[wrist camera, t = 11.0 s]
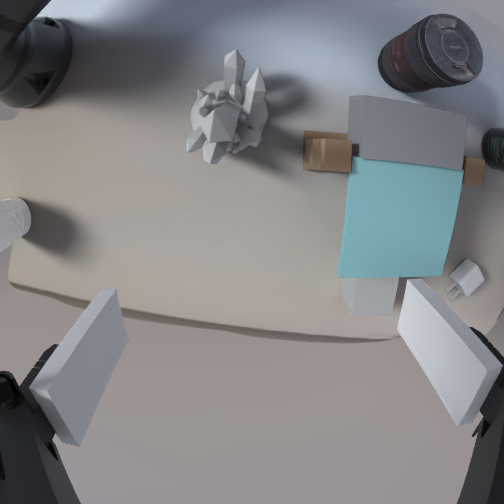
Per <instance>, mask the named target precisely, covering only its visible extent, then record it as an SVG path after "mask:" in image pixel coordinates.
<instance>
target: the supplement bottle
mask: <svg viewBox="0 0 504 504" xmlns="http://www.w3.org/2000/svg"><path fill="white" fill-rule="evenodd" d="M482 154H483V157H484V159H485V161H486V163H487V164H488V165H489V166H490V167H491V168H493V169H497V170H500V171H504V129H503V128H492V129H489V130H488V131H487V132H486V133H485V135H484V137H483V140H482Z"/></svg>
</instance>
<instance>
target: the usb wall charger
mask: <svg viewBox="0 0 504 504" xmlns="http://www.w3.org/2000/svg"><path fill="white" fill-rule="evenodd" d="M449 277H450V278H451V280H452V282H453V284H452V285H451V286H449V287H448V288H447V289H446V290H445V292H444V293H445V294H447V293H448V292H449V291H450V290H451V289H453V288H454V287H456V289H457V290H458V291H457V292H456V293H455V294H453V295H452V296H451V297H450V299H451V298H452V300H453V299H454V298H455V297H456V296H458V295H459V294H460V293H461V294H462V295H464V296H465V297H466V298H468V297H469V296H470V295H471V294H472V293H473V292H474V291H475V290H476V289H477V288H478V287H479V286H480V285H481V284H482V283H483V281H484V278H483V275H482V273H481V271H480V269H479V267H478V266H477V265H476V264H475V263H473V262H472V261H470V260H469V259H467V258H466V259H465V260H464V261H463V262H462V263H461V264H460V265H459V266H458V267H457V268H456V269H455V270H454V271H453V272H452V273H451V274H450V275H449ZM446 291H448V292H446ZM450 299H449V301H450V302H451V301H452V300H450Z"/></svg>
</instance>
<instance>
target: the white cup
mask: <svg viewBox="0 0 504 504" xmlns="http://www.w3.org/2000/svg"><path fill="white" fill-rule="evenodd" d="M30 226H31V213H30V210H29V207H28V206H27V204H26V203H25V202H24V200H22V199H20V198H18V197H15V198H10V199H4V200H0V252H1V251H2V250H4V249H5V248H7V247H9V246H10V245H11V244H13V243H14V242H16V241H17V240H18V239H19V238H21V237H22V236H24V235H25V234H26V233H27V232H28V231H29V229H30Z"/></svg>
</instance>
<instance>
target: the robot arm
mask: <svg viewBox="0 0 504 504" xmlns="http://www.w3.org/2000/svg"><path fill="white" fill-rule="evenodd" d="M50 1H51V0H0V101H1V102H3V103H4V104H6V105H8V106H10V107H14V108H30V107H33V106H36V105H38V104H40V103H41V102H43V101H44V100H45V99H47V98H48V97H49V96H50V95H51V94H52V93H53V92H54V91H55V89H56V88H57V87H58V85H59V84H60V82H61V81H62V79H63V77H64V75H65V73H66V71H67V68H68V66H69V62H70V58H71V53H72V40H71V35H70V33H69V30H68V29H67V27H66V26H65V25H64V24H63V23H61V22H59V21H57V20H55V19H53V18H50V17H36V16H37V15H38V14H39V13H40V12H41V10H42V9H43V8H44V7H45V6H46V5H47V4H48V3H49V2H50ZM397 330H398V332H399V333H400V335H401V336H402V338H403V339H404V341H405V342H406V344H407V345H408V347H409V348H410V350H411V351H412V353H413V355H414V356H415V358H416V359H417V361H418V362H419V364H420V366H421V367H422V369H423V370H424V372H425V374H426V375H427V377H428V378H429V380H430V382H431V383H432V385H433V387H434V388H435V390H436V391H437V393H438V395H439V396H440V398H441V400H442V401H443V403H444V405H445V407H446V408H447V410H448V412H449V413H450V415H451V417H452V418H453V420H454V422H455V424H456V426H457V427H460V426H463V425H466V424H468V423H471V422H473V421H474V419H475V417H476V416H477V414H478V412H479V411H480V412H481V413H482V415H483V418H482V420H481V421H480V423H479V425H478V426H477V428H476V430H475V431H474V433H473V434H472V437H474V436H475V435H476V433H477V432H478V434H477V438H476V443H475V447H474V451H473V455H472V458H471V462H470V465H469V469H468V472H467V476H466V479H465V482H464V485H463V488H462V491H461V494H460V497H459V499H458V502H457V504H504V357H503V356H502V355H501V354H500V353H499V352H498V351H497V349H496V348H494V347H493V345H492V344H491V343H490V342H488V339H487V338H486V337H485V336H484V335H483V334H482V333H481V332H479V331H478V330H476V329H474V328H473V327H468V326H467V325H466V324H465V323H464V322H463V321H462V319H461V318H460V317H459V316H458V315H457V314H456V313H455V312H454V311H453V310H452V309H451V308H450V307H449V306H448V305H447V304H446V303H445V302H444V301H443V300H442V299H441V298H440V297H439V296H438V295H437V294H436V293H435V292H434V291H433V290H432V289H431V288H430V287H429V286H428V285H427V284H426V283H425V282H424V281H423V280H422V279H421V278H420V279H407V284H406V289H405V295H404V300H403V304H402V309H401V314H400V318H399V323H398V327H397ZM127 342H128V336H127V332H126V329H125V325H124V321H123V317H122V313H121V309H120V304H119V300H118V296H117V291H116V289H101V290H100V292H99V293H98V294H97V295H96V297H95V298H94V299H93V300H92V302H91V303H90V304H89V306H88V307H87V308H86V309H85V311H84V312H83V313H82V315H81V316H80V317H79V318H78V320H77V321H76V322H75V324H74V325H73V327H72V328H71V329H70V330H69V332H68V333H67V335H66V336H65V337H64V338H63V340H62V341H61V343H60V344H59V345H57V344H54V345H53V346H51V347H50V348H49V349H47V350H46V351H45V352H44V353H43V354H42V356H41V357H40V359H39V361H37V363H36V364H35V365H34V368H32V370H31V371H30V372H29V374H28V375H27V377H26V378H25V379H24V381H23V382H22V384H21V385H20V387H19V385H18V384H17V382H16V380H15V378H14V376H13V374H12V373H10V372H7V371H0V504H81V503H80V501H79V499H78V497H77V495H76V493H75V491H74V488H73V486H72V484H71V482H70V480H69V477H68V475H67V473H66V470H65V468H64V466H63V463H62V461H61V458H60V455H59V453H58V450H57V447H56V445H55V444H54V442H53V441H52V439H53V437H54V435H55V433H56V434H57V435H58V437H59V438H60V439H61V441H62V442H63V443H66V444H71V445H75V446H79V447H80V445H81V443H82V440H83V438H84V436H85V433H86V431H87V429H88V426H89V424H90V422H91V419H92V417H93V414H94V412H95V410H96V408H97V406H98V403H99V401H100V399H101V397H102V394H103V392H104V390H105V388H106V386H107V383H108V381H109V379H110V377H111V375H112V373H113V371H114V369H115V367H116V364H117V362H118V360H119V358H120V356H121V354H122V352H123V350H124V348H125V346H126V344H127Z"/></svg>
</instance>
